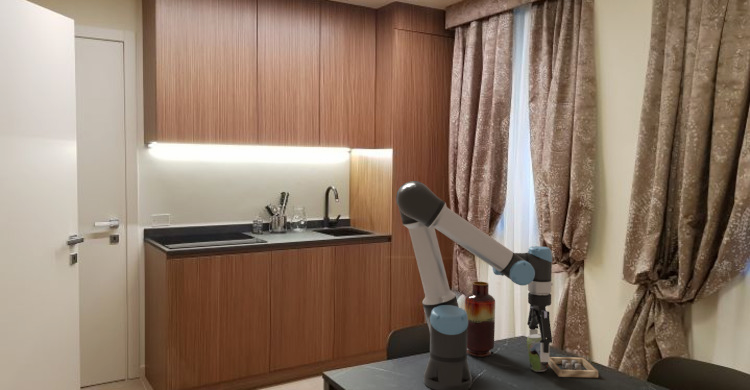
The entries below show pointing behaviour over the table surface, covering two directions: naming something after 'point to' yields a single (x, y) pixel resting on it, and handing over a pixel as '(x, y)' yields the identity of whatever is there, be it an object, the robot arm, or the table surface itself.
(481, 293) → the vase
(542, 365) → the beverage can
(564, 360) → the peg frame
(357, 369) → the table surface
